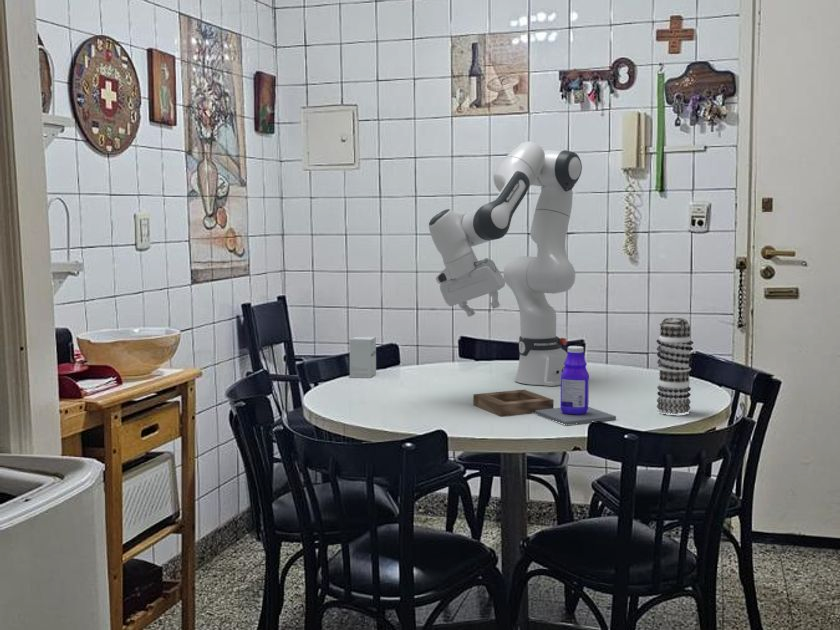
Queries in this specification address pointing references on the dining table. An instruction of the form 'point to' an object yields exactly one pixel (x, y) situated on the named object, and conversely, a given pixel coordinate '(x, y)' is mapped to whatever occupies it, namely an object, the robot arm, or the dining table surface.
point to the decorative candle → (674, 366)
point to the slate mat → (575, 416)
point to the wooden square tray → (512, 402)
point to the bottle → (575, 383)
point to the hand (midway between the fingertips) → (484, 311)
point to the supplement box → (362, 357)
